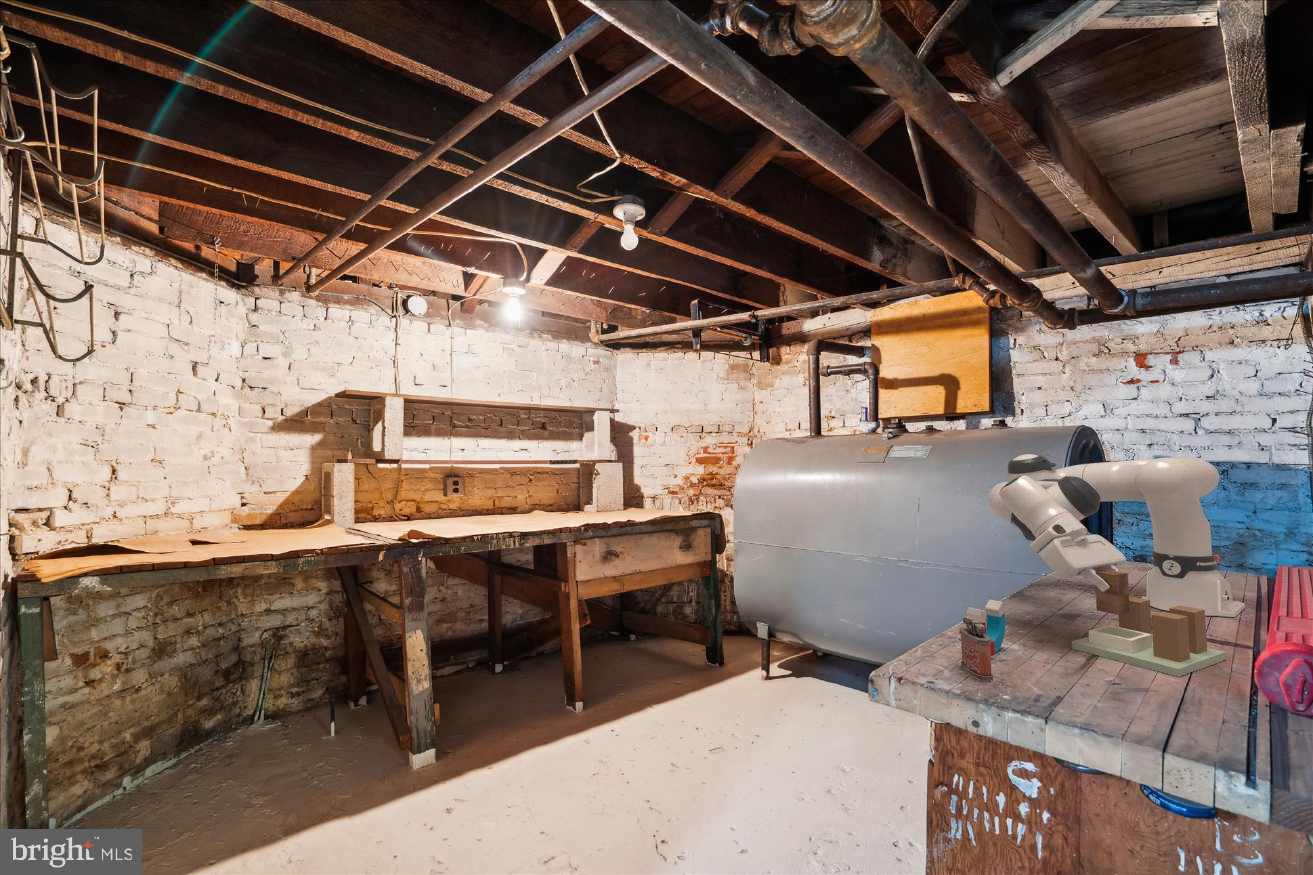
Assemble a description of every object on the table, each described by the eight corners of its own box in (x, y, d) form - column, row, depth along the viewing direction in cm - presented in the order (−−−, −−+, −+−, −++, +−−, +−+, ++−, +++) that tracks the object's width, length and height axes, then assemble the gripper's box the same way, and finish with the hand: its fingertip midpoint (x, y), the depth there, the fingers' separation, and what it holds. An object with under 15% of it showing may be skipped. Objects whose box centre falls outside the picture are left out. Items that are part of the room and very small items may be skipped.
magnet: (993, 644, 124) (991, 598, 124) (1007, 648, 122) (1005, 600, 122) (967, 657, 117) (964, 608, 117) (981, 660, 115) (978, 610, 115)
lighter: (997, 681, 105) (995, 626, 105) (979, 681, 105) (976, 626, 105) (974, 665, 113) (971, 613, 113) (956, 665, 113) (954, 614, 113)
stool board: (1119, 634, 128) (1116, 592, 128) (1225, 659, 112) (1222, 610, 112) (1071, 648, 120) (1069, 603, 121) (1179, 677, 104) (1176, 624, 104)
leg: (1107, 607, 121) (1105, 569, 121) (1129, 612, 117) (1127, 573, 118) (1096, 610, 119) (1094, 571, 119) (1118, 614, 116) (1116, 575, 116)
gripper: (1079, 539, 133) (1131, 590, 124) (1024, 547, 125) (1075, 602, 115) (1100, 522, 129) (1155, 573, 120) (1044, 529, 121) (1098, 584, 112)
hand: (1115, 588), depth 118 cm, fingers closed on leg, 4 cm apart
